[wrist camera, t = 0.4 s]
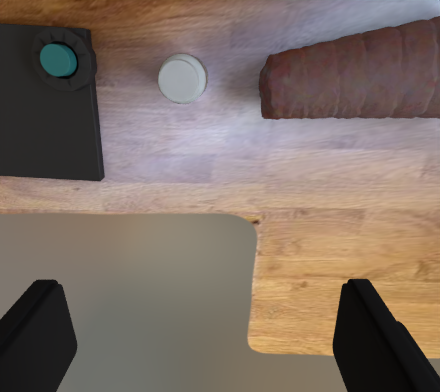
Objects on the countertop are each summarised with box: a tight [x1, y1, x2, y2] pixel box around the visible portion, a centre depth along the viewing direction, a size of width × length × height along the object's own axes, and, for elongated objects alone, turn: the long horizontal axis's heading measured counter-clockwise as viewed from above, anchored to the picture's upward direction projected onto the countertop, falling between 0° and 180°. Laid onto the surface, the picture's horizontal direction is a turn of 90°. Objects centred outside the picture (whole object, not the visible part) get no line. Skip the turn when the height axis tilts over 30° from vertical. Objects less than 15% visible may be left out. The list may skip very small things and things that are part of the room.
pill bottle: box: [158, 54, 208, 104], centre depth 30 cm, size 4×4×8 cm
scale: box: [0, 24, 104, 181], centre depth 34 cm, size 16×13×3 cm
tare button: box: [40, 44, 77, 76], centre depth 30 cm, size 3×3×2 cm
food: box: [259, 16, 440, 120], centre depth 29 cm, size 21×9×9 cm, turn 100°
